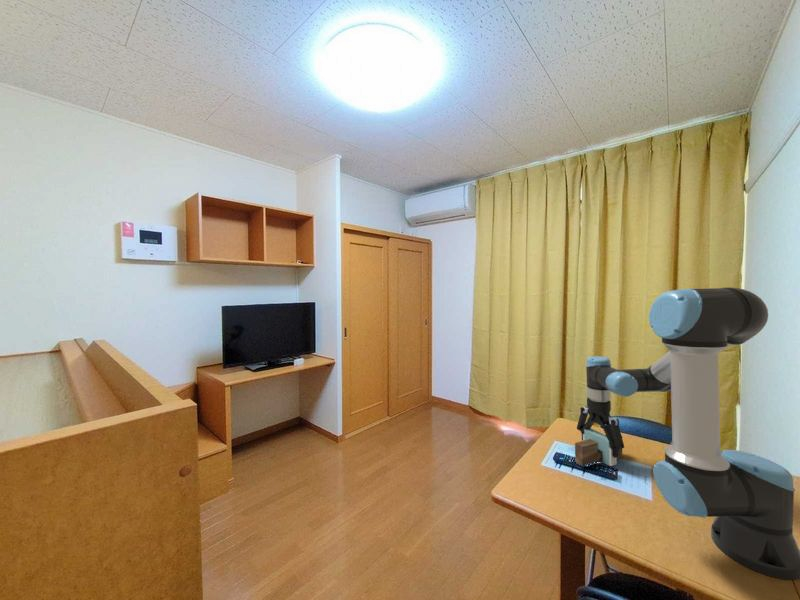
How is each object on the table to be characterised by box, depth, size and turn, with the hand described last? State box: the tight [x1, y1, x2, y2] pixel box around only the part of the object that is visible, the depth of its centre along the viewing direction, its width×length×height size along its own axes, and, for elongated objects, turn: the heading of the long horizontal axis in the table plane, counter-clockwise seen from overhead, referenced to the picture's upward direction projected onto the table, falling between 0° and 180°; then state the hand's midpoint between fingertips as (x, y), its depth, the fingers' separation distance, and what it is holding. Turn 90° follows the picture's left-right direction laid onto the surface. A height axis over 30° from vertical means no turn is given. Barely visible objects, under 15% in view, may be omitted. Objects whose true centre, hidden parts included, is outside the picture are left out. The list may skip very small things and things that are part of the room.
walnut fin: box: [574, 439, 623, 466], centre depth 119 cm, size 3×20×8 cm, turn 109°
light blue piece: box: [584, 427, 615, 467], centre depth 119 cm, size 10×3×9 cm, turn 19°
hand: (599, 457), depth 119 cm, fingers closed on light blue piece, 10 cm apart
